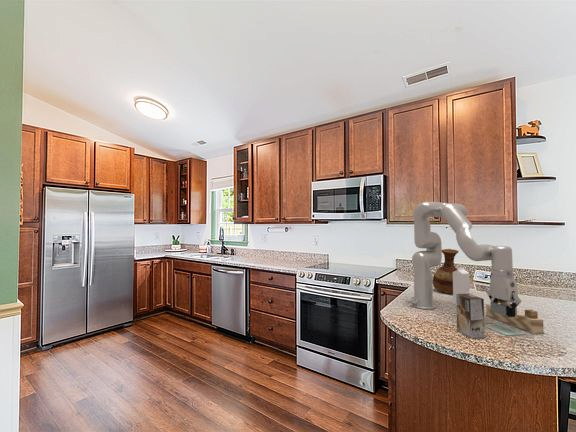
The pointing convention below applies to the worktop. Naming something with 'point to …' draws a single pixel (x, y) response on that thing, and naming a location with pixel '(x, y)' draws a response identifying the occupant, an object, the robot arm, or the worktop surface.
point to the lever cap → (501, 308)
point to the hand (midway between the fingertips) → (503, 313)
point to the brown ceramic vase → (445, 272)
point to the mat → (504, 329)
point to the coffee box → (470, 315)
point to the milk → (460, 282)
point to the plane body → (519, 320)
